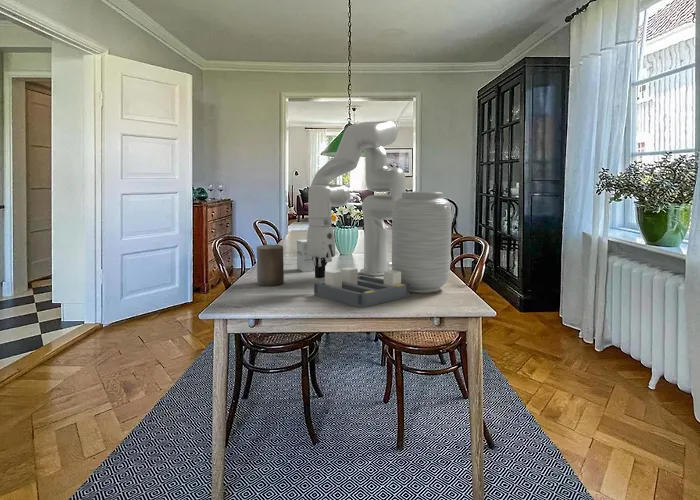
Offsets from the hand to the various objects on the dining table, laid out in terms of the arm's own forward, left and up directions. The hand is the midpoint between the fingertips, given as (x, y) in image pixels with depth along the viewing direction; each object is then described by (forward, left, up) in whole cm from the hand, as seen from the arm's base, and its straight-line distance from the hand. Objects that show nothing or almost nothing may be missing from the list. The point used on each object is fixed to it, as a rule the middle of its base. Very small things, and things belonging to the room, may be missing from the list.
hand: (320, 277), depth 163 cm
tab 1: (0, +7, -4) cm, 8 cm away
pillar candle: (+4, -23, -5) cm, 24 cm away
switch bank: (-7, +13, -5) cm, 15 cm away
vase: (-30, +19, -5) cm, 36 cm away
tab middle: (-7, +7, -4) cm, 10 cm away
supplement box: (-23, -35, -5) cm, 42 cm away
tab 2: (-14, +20, -4) cm, 25 cm away
